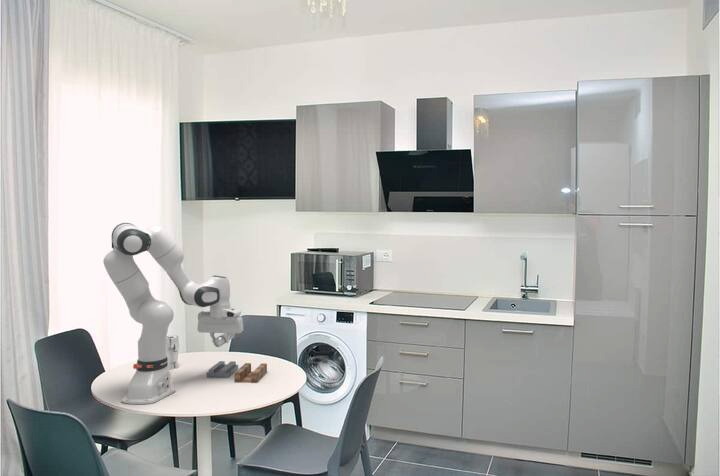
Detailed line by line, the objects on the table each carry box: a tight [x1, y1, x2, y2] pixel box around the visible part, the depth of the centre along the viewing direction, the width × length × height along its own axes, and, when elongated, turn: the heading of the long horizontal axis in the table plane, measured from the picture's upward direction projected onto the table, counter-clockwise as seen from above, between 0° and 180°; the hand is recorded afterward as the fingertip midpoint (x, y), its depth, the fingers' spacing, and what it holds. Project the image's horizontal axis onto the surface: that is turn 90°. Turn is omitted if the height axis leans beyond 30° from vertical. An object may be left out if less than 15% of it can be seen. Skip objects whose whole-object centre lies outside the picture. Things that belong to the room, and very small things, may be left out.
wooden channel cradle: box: [233, 362, 268, 384], centre depth 252 cm, size 16×10×5 cm, turn 174°
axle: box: [213, 333, 236, 348], centre depth 256 cm, size 16×4×4 cm, turn 173°
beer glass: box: [166, 334, 180, 370], centre depth 271 cm, size 7×7×15 cm
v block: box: [206, 360, 239, 379], centre depth 259 cm, size 14×10×4 cm
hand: (220, 342), depth 251 cm, fingers closed on axle, 4 cm apart
